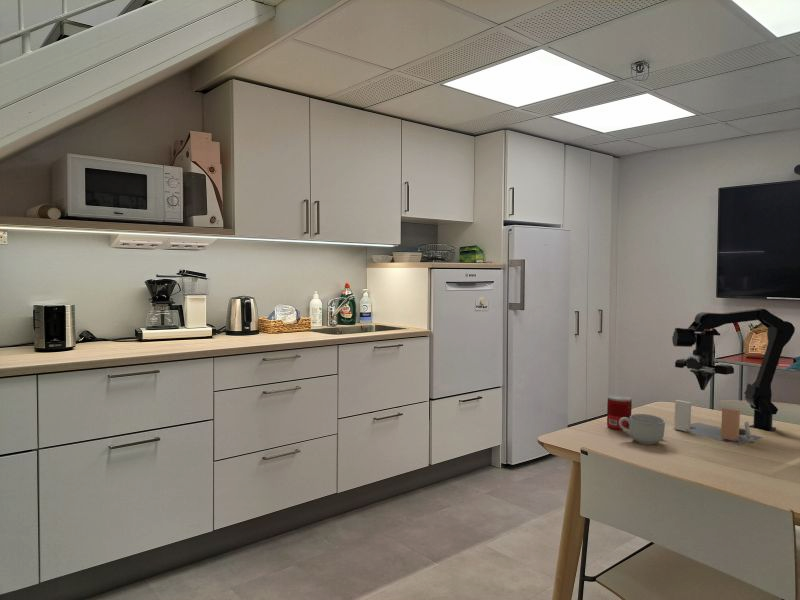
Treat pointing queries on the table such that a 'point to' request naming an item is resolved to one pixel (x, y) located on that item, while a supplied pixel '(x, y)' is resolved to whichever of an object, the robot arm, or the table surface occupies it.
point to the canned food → (618, 411)
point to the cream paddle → (682, 415)
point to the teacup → (645, 428)
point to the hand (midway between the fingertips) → (702, 390)
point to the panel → (716, 433)
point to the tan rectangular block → (730, 424)
